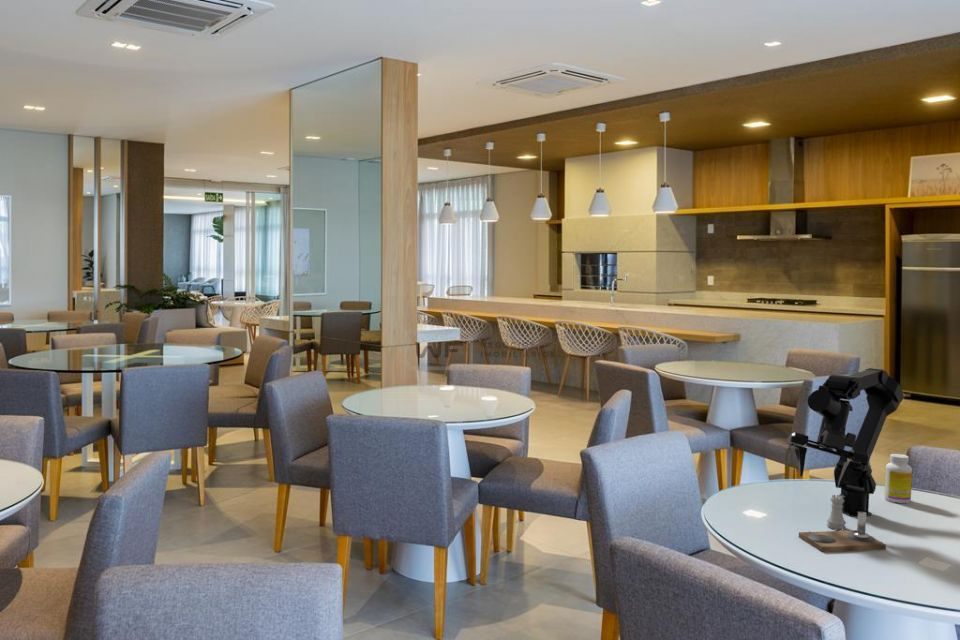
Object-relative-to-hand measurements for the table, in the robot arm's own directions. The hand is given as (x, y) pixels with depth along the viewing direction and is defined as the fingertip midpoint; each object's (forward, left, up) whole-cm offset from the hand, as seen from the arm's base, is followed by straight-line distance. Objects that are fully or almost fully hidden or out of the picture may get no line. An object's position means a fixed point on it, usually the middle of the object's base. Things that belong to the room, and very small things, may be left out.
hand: (819, 482), depth 201 cm
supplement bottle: (-35, -19, -12) cm, 42 cm away
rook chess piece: (-4, +1, -12) cm, 13 cm away
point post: (-4, +12, -10) cm, 16 cm away
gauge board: (+1, +12, -12) cm, 17 cm away
